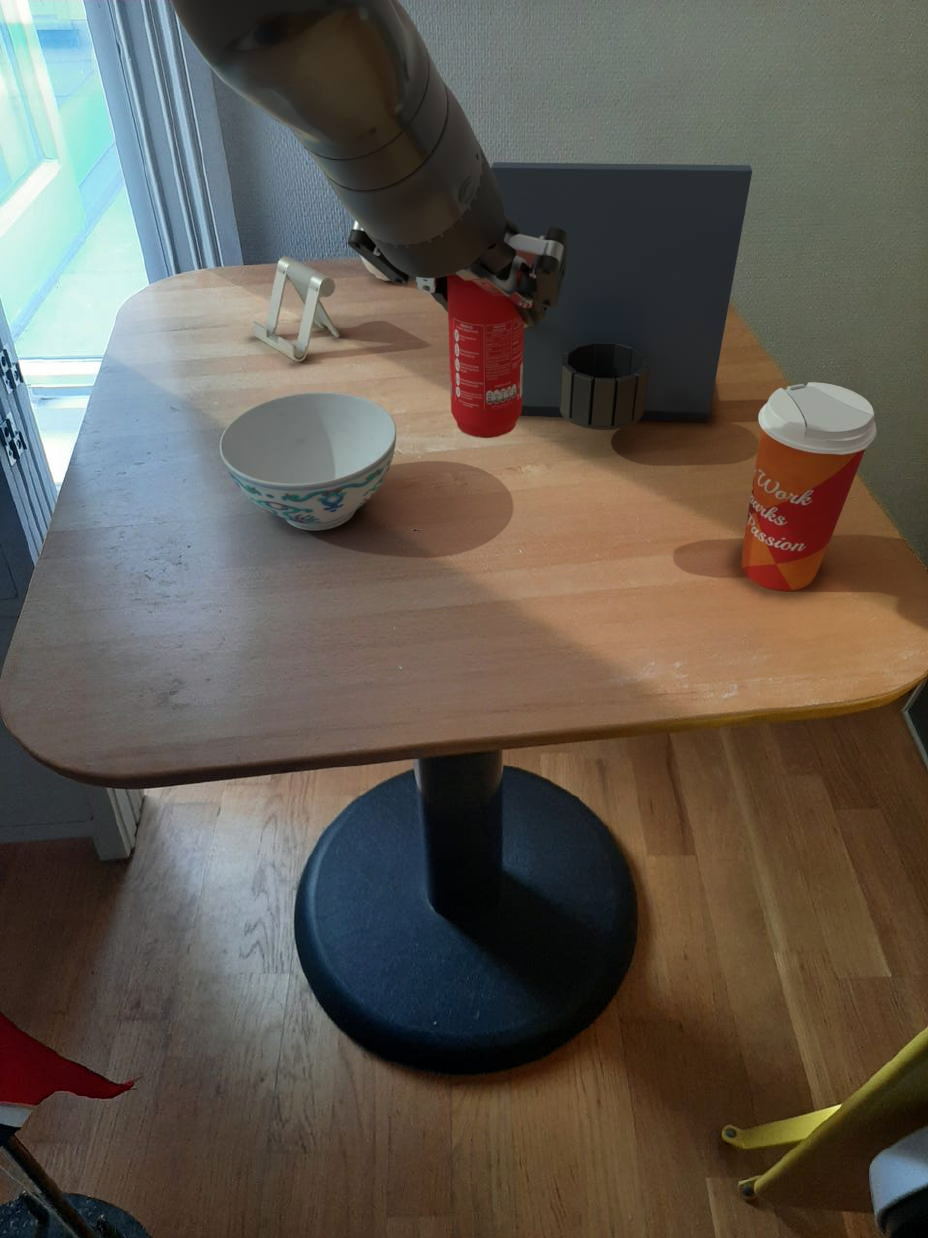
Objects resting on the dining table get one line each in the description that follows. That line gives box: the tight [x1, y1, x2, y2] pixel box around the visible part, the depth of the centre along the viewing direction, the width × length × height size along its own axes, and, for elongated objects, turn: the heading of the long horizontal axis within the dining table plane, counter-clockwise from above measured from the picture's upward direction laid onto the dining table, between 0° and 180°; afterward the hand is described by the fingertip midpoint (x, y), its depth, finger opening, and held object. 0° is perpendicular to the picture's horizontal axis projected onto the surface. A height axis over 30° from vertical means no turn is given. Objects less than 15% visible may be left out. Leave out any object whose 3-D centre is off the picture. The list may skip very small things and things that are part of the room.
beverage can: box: [447, 272, 524, 439], centre depth 64 cm, size 5×5×12 cm
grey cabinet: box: [490, 161, 753, 431], centre depth 87 cm, size 22×18×24 cm
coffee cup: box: [741, 381, 878, 592], centre depth 71 cm, size 8×8×15 cm
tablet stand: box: [251, 255, 340, 363], centre depth 106 cm, size 9×8×8 cm
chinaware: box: [219, 391, 397, 531], centre depth 81 cm, size 15×15×8 cm
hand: (495, 305), depth 64 cm, fingers closed on beverage can, 5 cm apart
